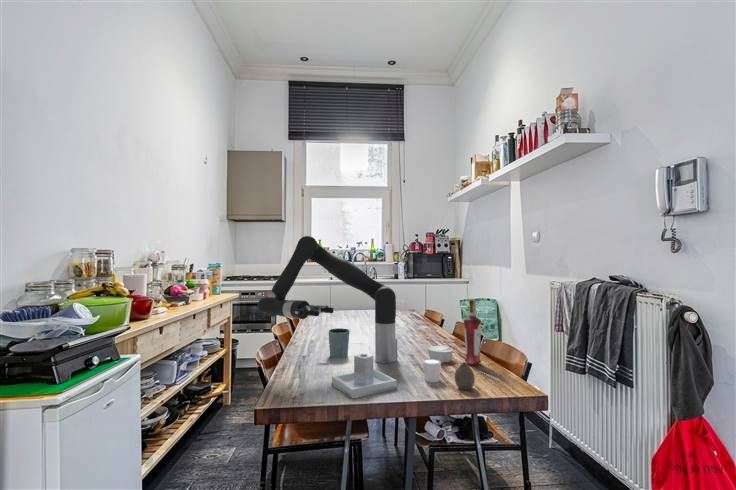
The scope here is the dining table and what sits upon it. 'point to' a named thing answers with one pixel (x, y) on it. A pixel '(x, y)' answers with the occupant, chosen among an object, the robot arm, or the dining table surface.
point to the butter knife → (492, 376)
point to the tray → (379, 385)
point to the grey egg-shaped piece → (464, 377)
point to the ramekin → (440, 353)
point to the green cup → (338, 342)
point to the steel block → (363, 369)
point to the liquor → (472, 335)
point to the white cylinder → (432, 370)
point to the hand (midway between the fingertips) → (325, 311)
